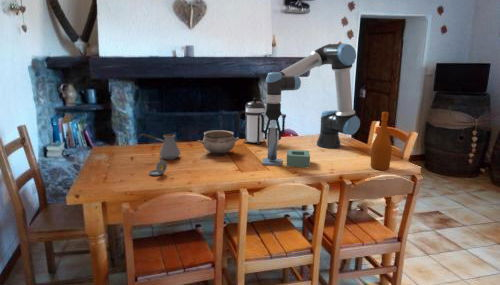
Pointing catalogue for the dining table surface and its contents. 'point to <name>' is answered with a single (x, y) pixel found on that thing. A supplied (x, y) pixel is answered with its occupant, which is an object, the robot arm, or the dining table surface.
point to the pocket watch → (159, 167)
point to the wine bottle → (381, 147)
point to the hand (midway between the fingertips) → (272, 145)
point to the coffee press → (252, 121)
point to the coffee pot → (167, 146)
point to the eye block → (298, 158)
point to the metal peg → (272, 143)
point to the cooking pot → (218, 141)
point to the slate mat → (271, 162)
